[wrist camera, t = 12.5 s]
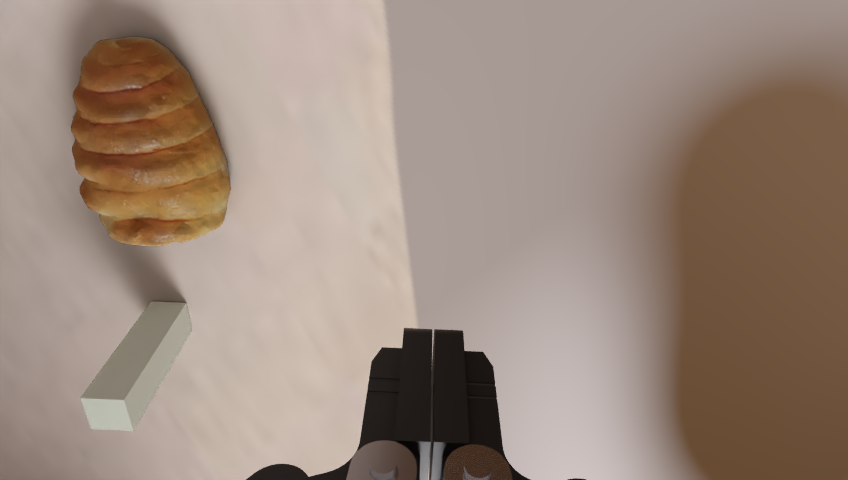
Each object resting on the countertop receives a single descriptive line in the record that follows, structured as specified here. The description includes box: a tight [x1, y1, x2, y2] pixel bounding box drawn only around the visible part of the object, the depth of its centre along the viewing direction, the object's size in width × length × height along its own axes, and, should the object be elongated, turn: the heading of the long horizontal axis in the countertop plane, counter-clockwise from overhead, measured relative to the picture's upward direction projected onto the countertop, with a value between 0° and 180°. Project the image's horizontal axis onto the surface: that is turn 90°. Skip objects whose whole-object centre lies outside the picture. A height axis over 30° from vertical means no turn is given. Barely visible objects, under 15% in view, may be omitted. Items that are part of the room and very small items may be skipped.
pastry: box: [71, 37, 231, 246], centre depth 26 cm, size 9×7×4 cm
